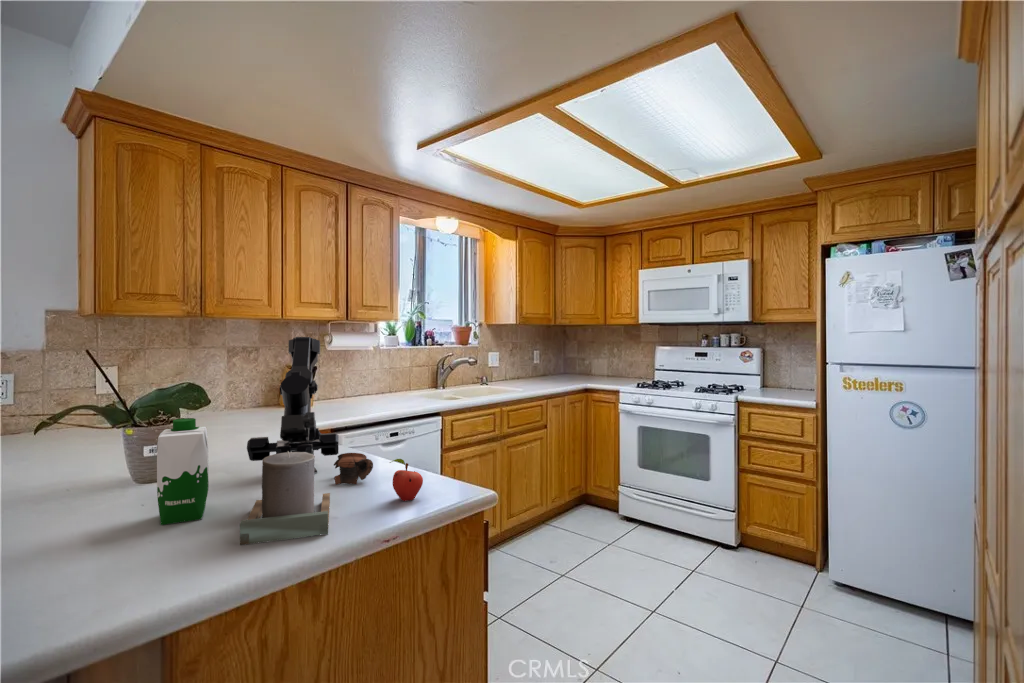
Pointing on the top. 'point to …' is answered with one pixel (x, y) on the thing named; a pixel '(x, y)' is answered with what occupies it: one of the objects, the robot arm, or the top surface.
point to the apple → (406, 482)
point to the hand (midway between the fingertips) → (292, 480)
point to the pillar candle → (287, 484)
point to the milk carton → (182, 472)
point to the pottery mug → (352, 468)
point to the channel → (284, 524)
